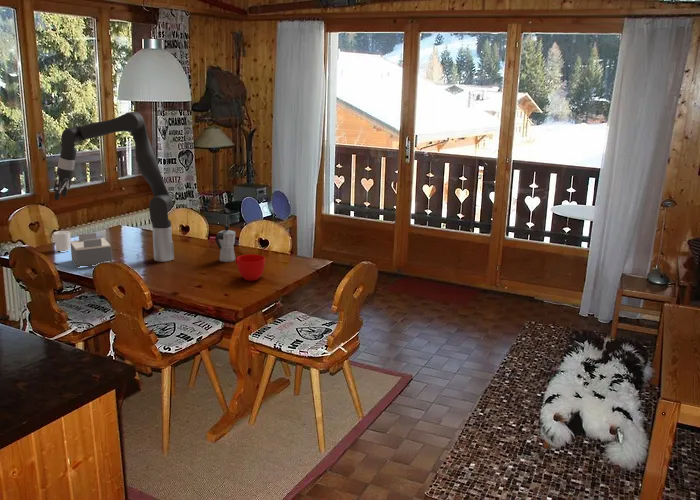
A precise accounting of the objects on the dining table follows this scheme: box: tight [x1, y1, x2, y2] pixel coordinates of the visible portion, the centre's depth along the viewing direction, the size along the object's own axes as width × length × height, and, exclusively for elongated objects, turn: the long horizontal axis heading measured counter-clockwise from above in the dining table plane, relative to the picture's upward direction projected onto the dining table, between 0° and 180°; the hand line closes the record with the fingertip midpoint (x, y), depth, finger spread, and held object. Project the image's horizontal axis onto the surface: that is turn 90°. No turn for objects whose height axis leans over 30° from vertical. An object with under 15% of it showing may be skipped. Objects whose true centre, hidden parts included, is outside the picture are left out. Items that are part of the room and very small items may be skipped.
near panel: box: [73, 237, 111, 250], centre depth 324 cm, size 16×8×4 cm, turn 121°
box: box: [70, 243, 113, 268], centre depth 329 cm, size 16×16×9 cm
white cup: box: [53, 230, 71, 252], centre depth 347 cm, size 8×8×10 cm
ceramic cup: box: [235, 253, 266, 281], centre depth 312 cm, size 13×17×10 cm
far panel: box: [70, 232, 108, 246], centre depth 330 cm, size 16×8×4 cm, turn 121°
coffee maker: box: [214, 225, 236, 263], centre depth 338 cm, size 15×9×18 cm, turn 149°
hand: (60, 197), depth 334 cm, fingers open, 8 cm apart
